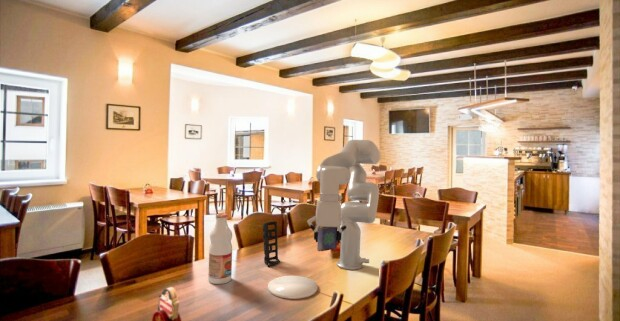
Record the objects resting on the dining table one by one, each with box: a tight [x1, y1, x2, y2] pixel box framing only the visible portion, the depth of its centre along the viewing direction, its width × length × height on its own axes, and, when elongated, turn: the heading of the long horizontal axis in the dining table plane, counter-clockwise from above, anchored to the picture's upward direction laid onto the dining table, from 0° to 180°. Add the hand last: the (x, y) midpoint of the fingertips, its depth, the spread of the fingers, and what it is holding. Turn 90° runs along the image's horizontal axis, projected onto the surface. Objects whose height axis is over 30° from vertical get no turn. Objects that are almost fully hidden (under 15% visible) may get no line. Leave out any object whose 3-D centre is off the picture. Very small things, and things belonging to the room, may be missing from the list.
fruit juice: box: [208, 212, 233, 285], centre depth 138 cm, size 9×9×28 cm
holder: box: [262, 221, 281, 268], centre depth 160 cm, size 11×8×20 cm
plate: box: [267, 275, 318, 300], centre depth 133 cm, size 20×20×1 cm
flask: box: [316, 227, 338, 252], centre depth 131 cm, size 9×3×11 cm, turn 123°
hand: (327, 241), depth 131 cm, fingers closed on flask, 8 cm apart
